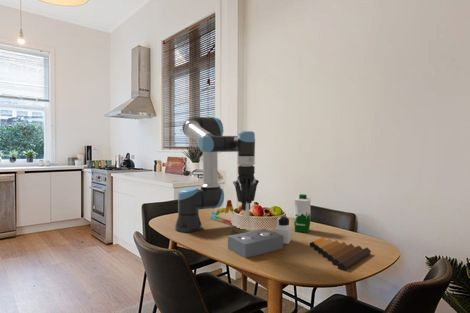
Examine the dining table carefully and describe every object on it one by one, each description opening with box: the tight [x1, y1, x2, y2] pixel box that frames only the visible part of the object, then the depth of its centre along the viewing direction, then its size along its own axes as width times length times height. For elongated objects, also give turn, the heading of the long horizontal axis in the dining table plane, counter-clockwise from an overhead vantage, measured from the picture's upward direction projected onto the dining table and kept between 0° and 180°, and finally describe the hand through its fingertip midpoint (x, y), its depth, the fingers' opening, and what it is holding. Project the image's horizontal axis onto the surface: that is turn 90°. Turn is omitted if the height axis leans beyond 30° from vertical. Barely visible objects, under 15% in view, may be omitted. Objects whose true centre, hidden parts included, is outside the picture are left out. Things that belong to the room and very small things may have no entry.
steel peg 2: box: [260, 232, 270, 236], centre depth 144 cm, size 5×5×5 cm
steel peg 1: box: [241, 236, 252, 240], centre depth 138 cm, size 5×5×5 cm
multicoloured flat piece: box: [210, 199, 235, 227], centre depth 186 cm, size 30×3×15 cm, turn 40°
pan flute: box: [309, 236, 372, 272], centre depth 133 cm, size 25×3×25 cm
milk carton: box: [293, 193, 311, 233], centre depth 170 cm, size 9×9×20 cm
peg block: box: [227, 228, 284, 259], centre depth 141 cm, size 14×22×6 cm, turn 124°
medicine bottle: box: [274, 216, 292, 245], centre depth 151 cm, size 7×7×12 cm
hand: (245, 216), depth 137 cm, fingers closed
